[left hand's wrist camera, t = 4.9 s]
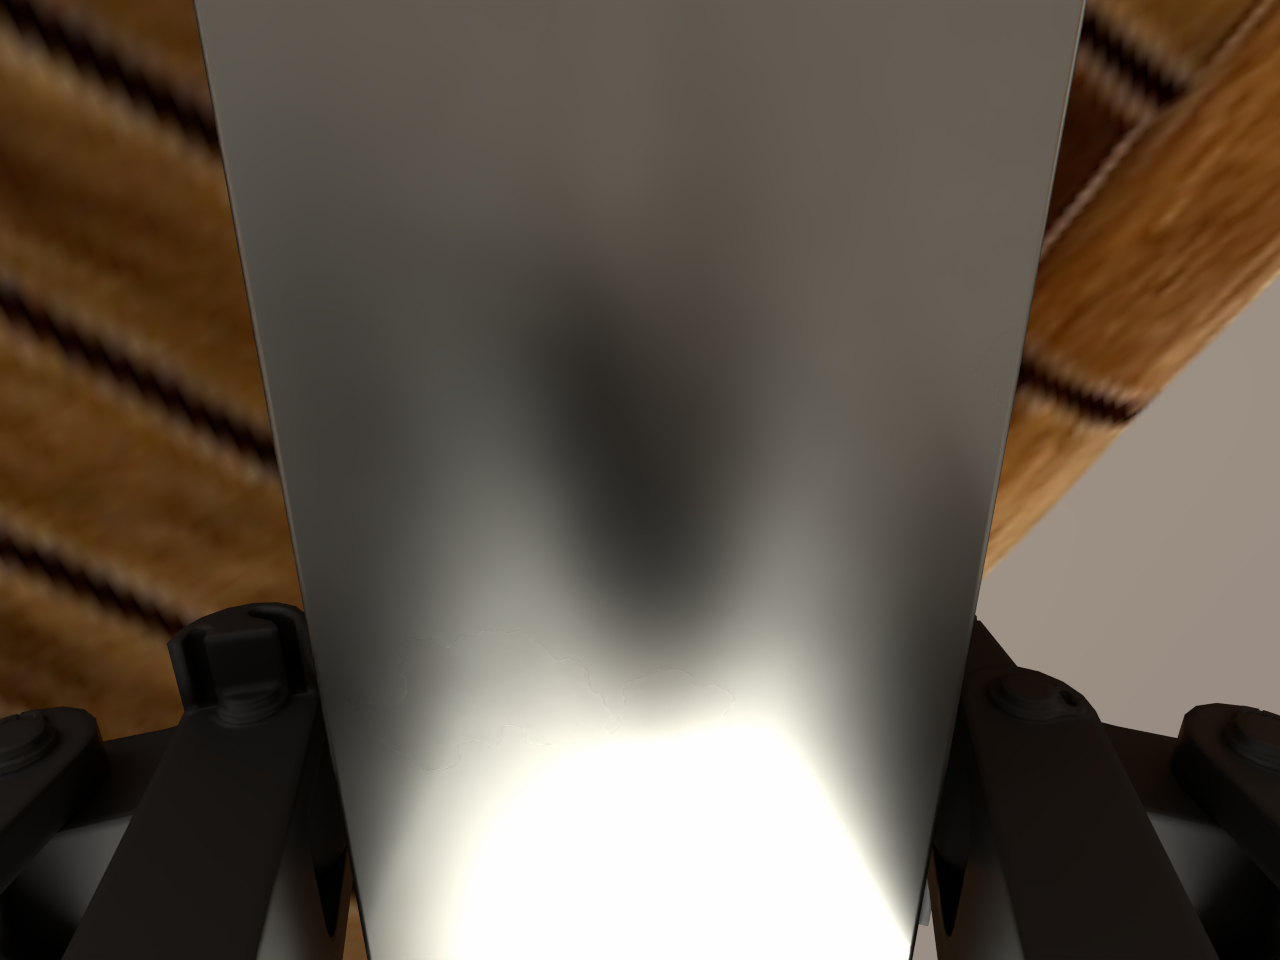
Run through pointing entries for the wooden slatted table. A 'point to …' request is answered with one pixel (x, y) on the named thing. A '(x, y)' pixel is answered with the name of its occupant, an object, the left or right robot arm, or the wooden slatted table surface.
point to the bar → (639, 441)
